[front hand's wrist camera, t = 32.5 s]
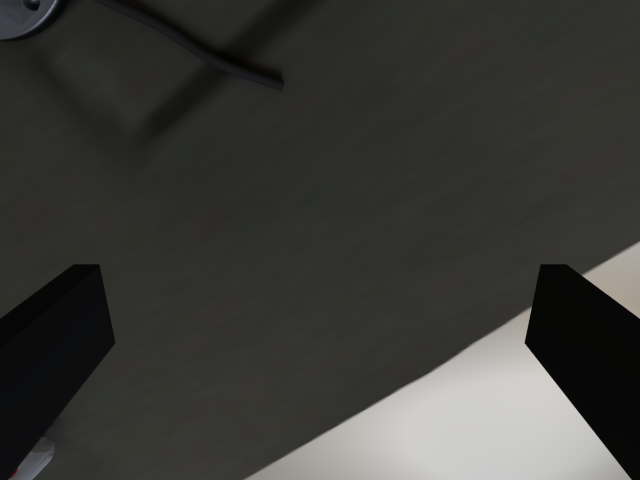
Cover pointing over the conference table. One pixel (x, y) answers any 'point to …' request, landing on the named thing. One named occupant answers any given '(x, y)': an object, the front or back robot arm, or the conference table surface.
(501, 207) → the conference table surface
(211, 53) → the front robot arm
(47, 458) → the toy
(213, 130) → the conference table surface
